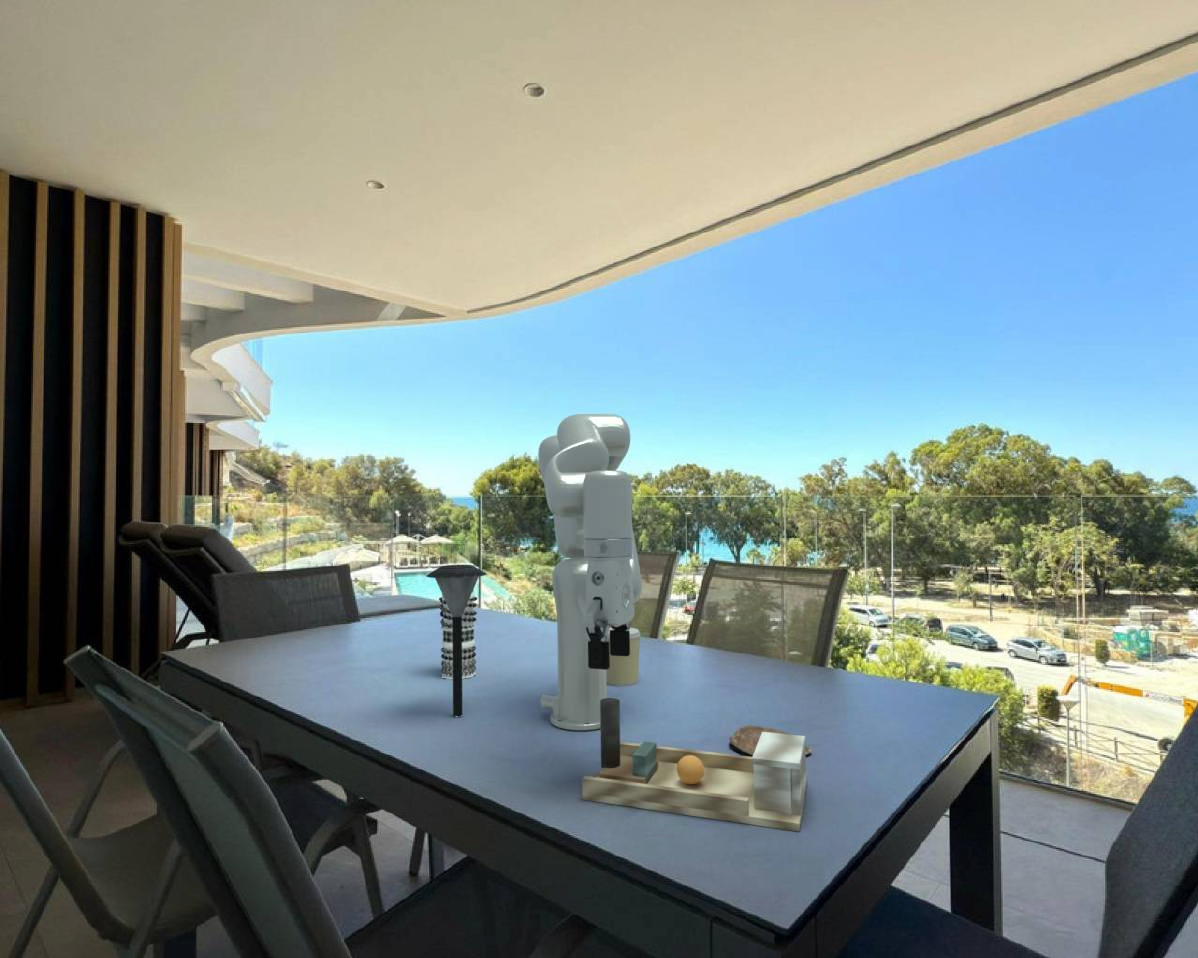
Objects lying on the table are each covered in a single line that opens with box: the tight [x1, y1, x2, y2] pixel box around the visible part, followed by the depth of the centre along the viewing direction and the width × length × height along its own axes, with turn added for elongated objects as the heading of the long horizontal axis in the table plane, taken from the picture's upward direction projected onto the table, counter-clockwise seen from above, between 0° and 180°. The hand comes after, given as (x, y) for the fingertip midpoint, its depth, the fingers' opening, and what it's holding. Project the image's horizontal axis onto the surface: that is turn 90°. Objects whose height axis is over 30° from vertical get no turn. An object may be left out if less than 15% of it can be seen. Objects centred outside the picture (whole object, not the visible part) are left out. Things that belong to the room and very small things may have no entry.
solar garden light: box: [425, 564, 488, 716], centre depth 139 cm, size 12×12×30 cm
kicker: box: [598, 697, 659, 784], centre depth 106 cm, size 8×8×11 cm
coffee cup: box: [606, 627, 641, 687], centre depth 164 cm, size 9×9×12 cm
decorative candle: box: [438, 589, 478, 679], centre depth 171 cm, size 9×9×25 cm
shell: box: [728, 724, 812, 758], centre depth 119 cm, size 12×13×4 cm
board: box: [581, 732, 808, 832], centre depth 102 cm, size 30×16×8 cm, turn 70°
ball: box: [677, 755, 704, 785], centre depth 102 cm, size 4×4×4 cm
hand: (609, 661), depth 106 cm, fingers open, 9 cm apart
